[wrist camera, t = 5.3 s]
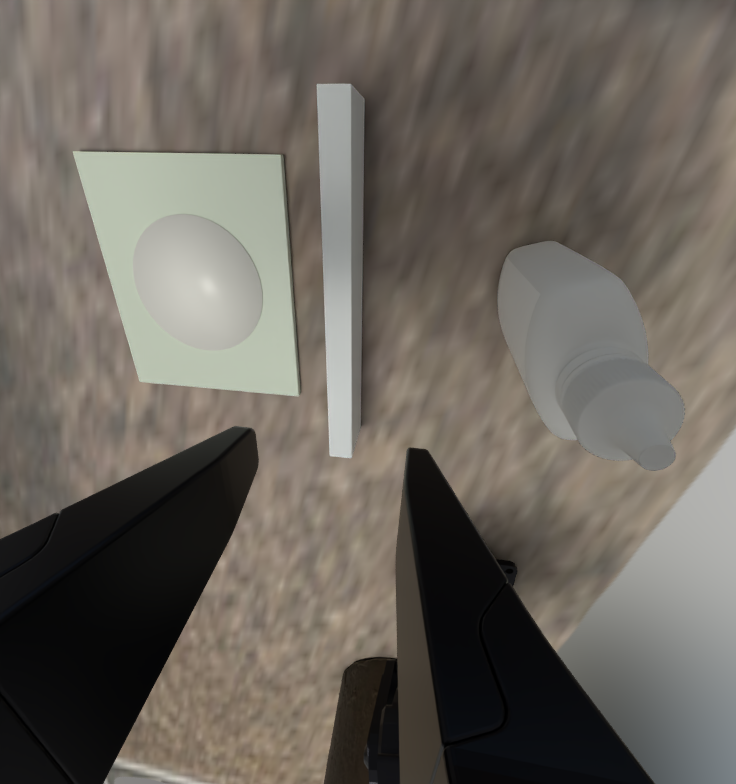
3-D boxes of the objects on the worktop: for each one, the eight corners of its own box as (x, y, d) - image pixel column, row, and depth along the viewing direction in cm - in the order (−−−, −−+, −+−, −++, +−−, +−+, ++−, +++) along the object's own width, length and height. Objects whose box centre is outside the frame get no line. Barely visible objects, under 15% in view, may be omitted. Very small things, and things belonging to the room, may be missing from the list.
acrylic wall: (360, 427, 24) (351, 458, 21) (341, 425, 24) (329, 455, 21) (364, 99, 16) (350, 83, 13) (335, 99, 16) (316, 84, 14)
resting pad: (300, 393, 23) (298, 397, 23) (143, 379, 24) (138, 382, 24) (283, 155, 17) (279, 154, 17) (79, 152, 19) (71, 151, 18)
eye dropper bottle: (468, 342, 20) (503, 516, 10) (516, 228, 17) (635, 303, 7) (550, 366, 20) (672, 568, 10) (610, 256, 17) (871, 374, 7)
